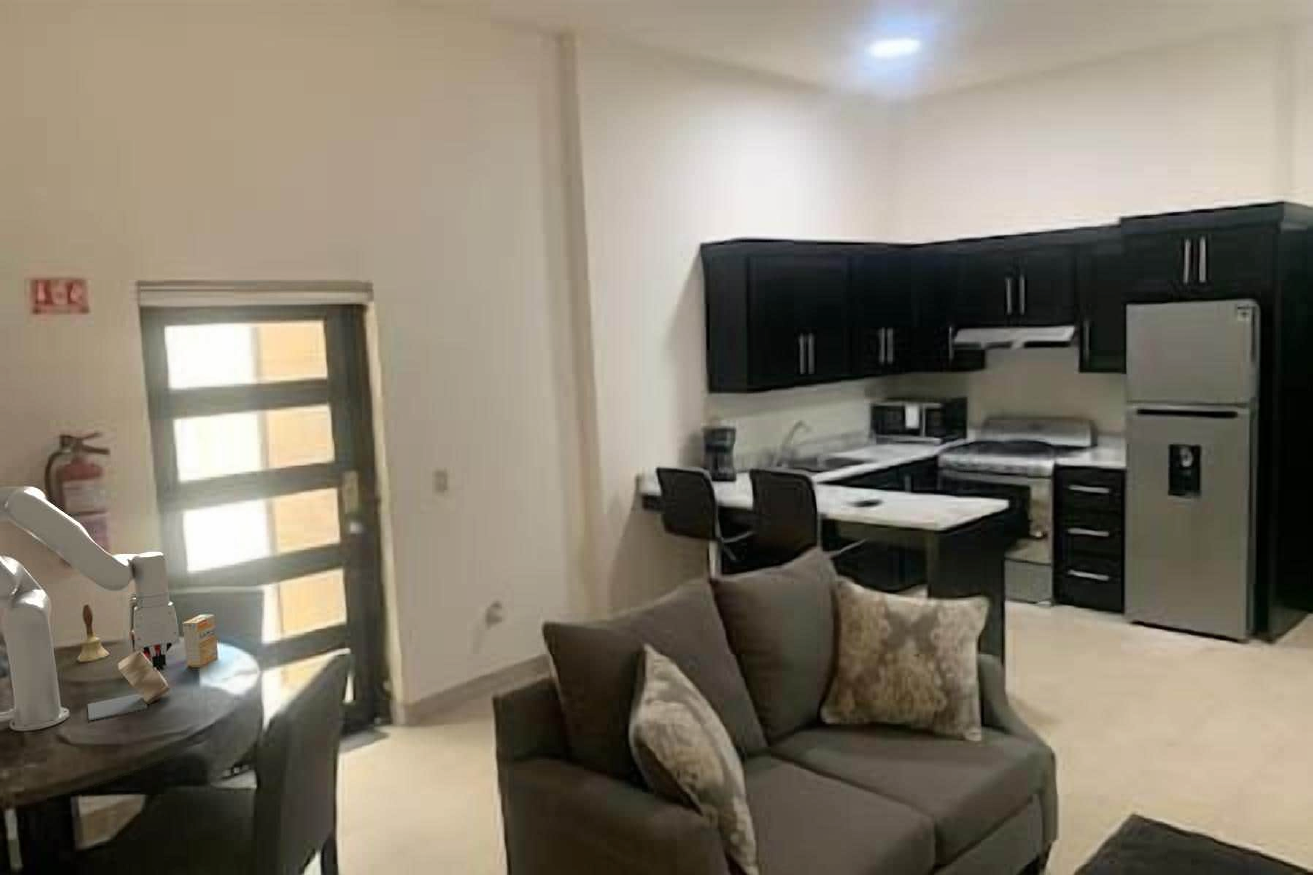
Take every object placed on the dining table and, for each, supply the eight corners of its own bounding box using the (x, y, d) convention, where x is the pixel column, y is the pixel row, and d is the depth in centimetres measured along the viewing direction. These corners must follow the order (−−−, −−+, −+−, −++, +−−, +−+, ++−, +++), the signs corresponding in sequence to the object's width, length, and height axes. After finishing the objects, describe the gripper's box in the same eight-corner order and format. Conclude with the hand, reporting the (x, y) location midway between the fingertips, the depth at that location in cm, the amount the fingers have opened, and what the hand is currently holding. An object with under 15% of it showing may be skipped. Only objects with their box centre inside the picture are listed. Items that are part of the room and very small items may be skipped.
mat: (89, 721, 253) (88, 719, 252) (87, 706, 263) (87, 704, 263) (147, 708, 259) (147, 706, 259) (143, 694, 269) (143, 692, 269)
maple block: (148, 704, 262) (119, 670, 258) (147, 697, 267) (117, 663, 263) (170, 689, 264) (141, 654, 260) (168, 682, 269) (139, 648, 265)
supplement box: (201, 667, 288) (196, 622, 287) (186, 667, 289) (181, 622, 288) (219, 657, 296) (214, 613, 295) (204, 657, 297) (199, 613, 296)
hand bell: (70, 661, 300) (63, 608, 298) (91, 651, 308) (85, 600, 306) (94, 662, 298) (88, 609, 296) (115, 652, 306) (109, 600, 304)
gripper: (121, 608, 256) (128, 679, 258) (186, 598, 263) (192, 667, 266) (119, 602, 262) (126, 670, 265) (183, 592, 270) (189, 659, 272)
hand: (159, 668), depth 265 cm, fingers closed
